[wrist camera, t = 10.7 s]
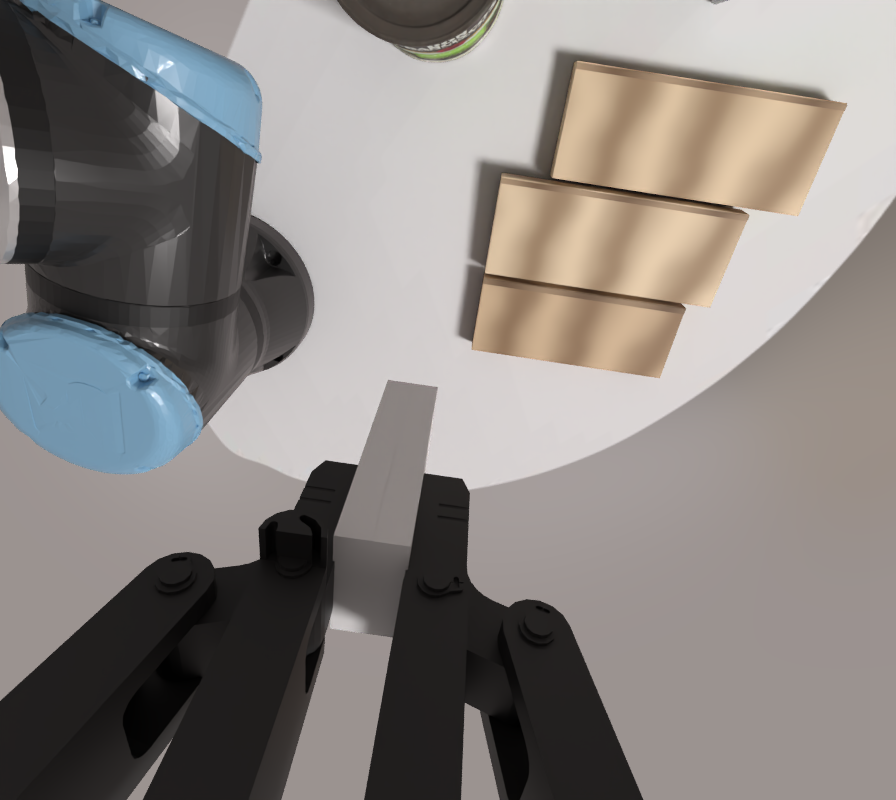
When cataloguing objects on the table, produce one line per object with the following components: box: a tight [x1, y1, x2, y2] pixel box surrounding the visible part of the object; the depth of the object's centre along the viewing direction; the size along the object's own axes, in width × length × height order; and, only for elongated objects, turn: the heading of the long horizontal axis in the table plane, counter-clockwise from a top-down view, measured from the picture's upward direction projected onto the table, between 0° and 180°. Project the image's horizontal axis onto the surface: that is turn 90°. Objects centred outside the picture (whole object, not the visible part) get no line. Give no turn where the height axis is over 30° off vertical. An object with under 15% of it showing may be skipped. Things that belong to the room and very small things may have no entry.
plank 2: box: [485, 173, 749, 308], centre depth 46 cm, size 20×8×2 cm, turn 82°
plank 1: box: [550, 61, 847, 216], centre depth 42 cm, size 20×8×2 cm, turn 82°
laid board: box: [472, 272, 686, 378], centre depth 50 cm, size 18×7×2 cm, turn 82°
